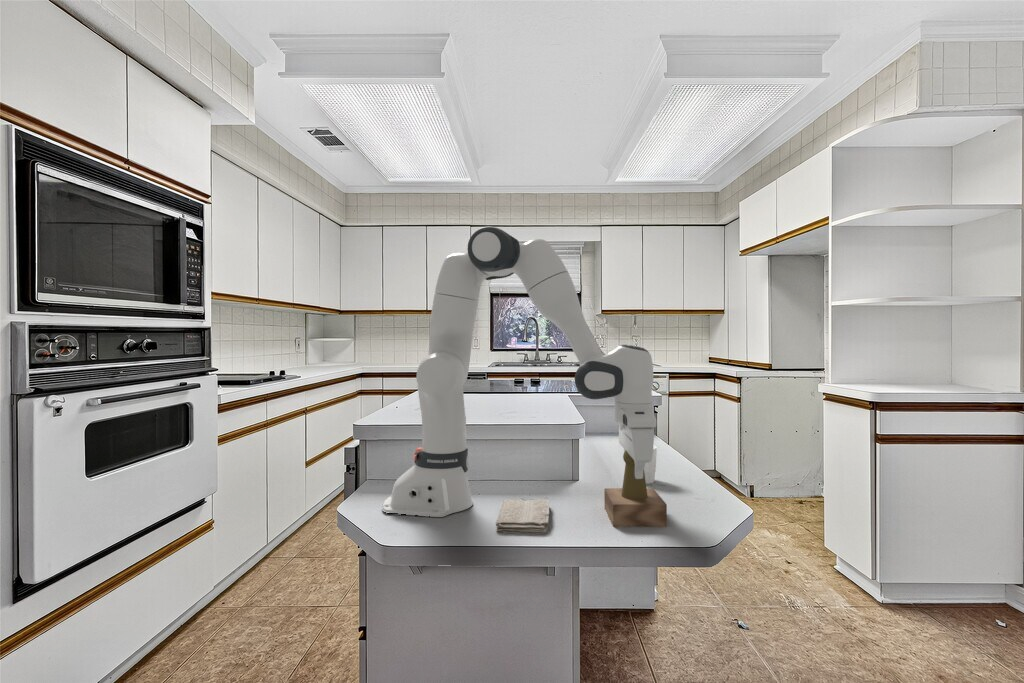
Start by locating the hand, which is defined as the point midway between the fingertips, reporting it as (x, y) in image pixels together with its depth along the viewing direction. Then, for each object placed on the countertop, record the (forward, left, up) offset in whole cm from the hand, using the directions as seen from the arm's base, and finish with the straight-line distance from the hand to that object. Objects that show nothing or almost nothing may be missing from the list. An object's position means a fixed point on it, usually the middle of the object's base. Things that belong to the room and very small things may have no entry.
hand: (633, 472), depth 125 cm
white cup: (+9, +30, -11) cm, 33 cm away
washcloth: (-26, -1, -11) cm, 28 cm away
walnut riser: (0, 0, -11) cm, 11 cm away
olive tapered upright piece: (0, 0, -6) cm, 6 cm away
